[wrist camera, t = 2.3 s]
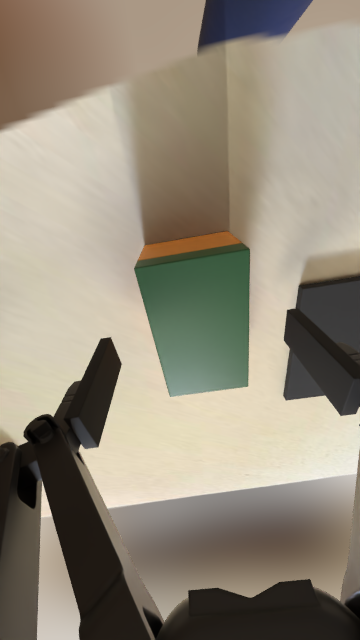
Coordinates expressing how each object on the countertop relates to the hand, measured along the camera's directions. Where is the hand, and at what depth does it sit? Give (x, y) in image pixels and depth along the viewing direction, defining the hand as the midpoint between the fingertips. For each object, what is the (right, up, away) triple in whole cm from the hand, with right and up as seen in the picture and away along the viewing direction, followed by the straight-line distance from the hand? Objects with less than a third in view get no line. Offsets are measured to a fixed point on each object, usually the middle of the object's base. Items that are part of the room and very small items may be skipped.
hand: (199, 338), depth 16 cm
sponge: (0, +3, +5) cm, 6 cm away
